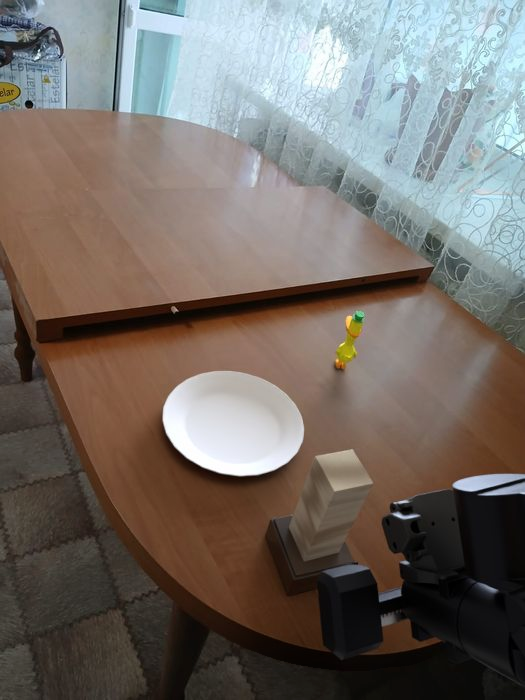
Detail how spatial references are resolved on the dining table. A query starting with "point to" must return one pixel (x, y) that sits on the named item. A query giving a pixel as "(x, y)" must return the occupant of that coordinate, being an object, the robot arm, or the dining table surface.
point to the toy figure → (350, 339)
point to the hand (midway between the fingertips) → (368, 564)
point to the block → (329, 504)
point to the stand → (298, 558)
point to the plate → (233, 423)
